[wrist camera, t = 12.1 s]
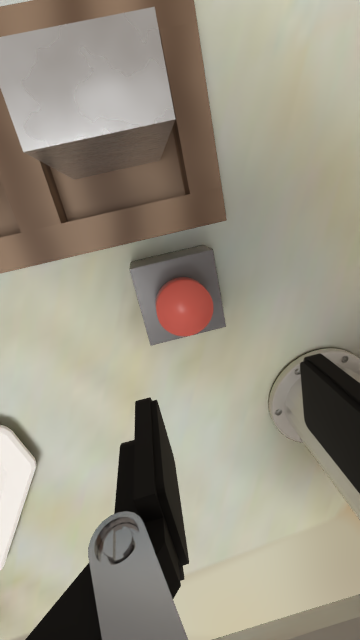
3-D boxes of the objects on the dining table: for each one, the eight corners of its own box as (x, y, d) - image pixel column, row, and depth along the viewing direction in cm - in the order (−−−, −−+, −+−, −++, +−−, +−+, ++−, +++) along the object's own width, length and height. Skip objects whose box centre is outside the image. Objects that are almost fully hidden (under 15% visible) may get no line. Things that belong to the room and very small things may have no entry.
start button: (203, 271, 23) (208, 275, 22) (213, 321, 25) (217, 328, 23) (149, 284, 23) (150, 289, 22) (162, 334, 25) (164, 342, 23)
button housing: (203, 244, 28) (212, 249, 24) (215, 312, 30) (225, 326, 27) (130, 262, 28) (129, 269, 24) (149, 329, 30) (150, 345, 26)
